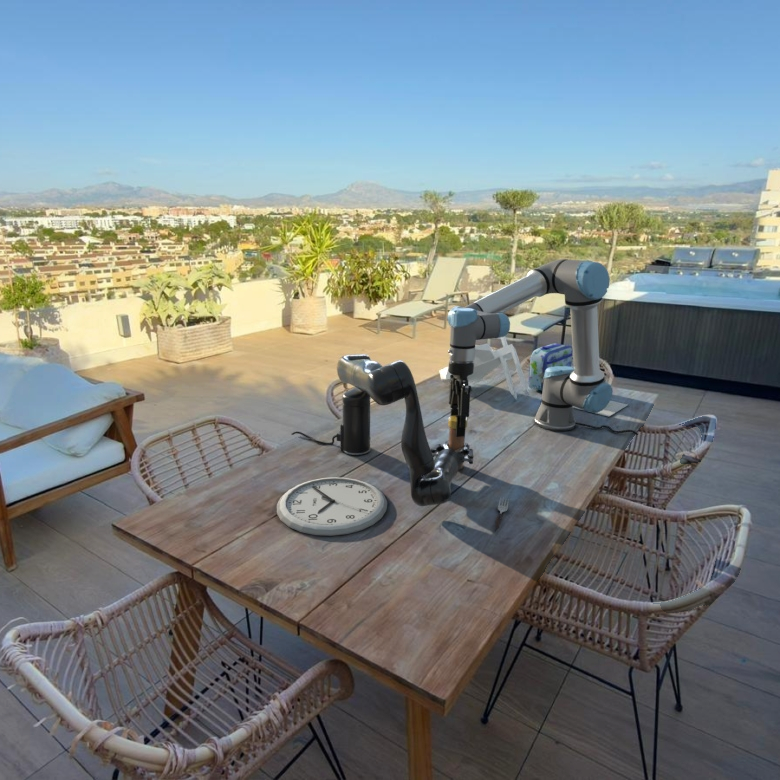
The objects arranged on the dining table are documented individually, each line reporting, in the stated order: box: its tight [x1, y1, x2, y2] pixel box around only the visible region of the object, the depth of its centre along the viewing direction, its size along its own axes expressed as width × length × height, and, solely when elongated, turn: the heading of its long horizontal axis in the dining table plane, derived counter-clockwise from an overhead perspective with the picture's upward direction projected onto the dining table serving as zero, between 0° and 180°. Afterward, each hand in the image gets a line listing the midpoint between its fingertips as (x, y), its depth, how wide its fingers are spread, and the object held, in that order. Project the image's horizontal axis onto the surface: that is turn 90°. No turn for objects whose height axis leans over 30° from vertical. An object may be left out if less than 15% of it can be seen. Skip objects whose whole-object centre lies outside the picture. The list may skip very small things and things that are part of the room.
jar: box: [448, 427, 466, 470], centre depth 165 cm, size 5×5×16 cm
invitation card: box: [573, 400, 629, 418], centre depth 226 cm, size 21×1×15 cm
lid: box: [447, 415, 468, 429], centre depth 163 cm, size 6×6×2 cm
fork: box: [494, 496, 510, 532], centre depth 138 cm, size 3×16×2 cm, turn 160°
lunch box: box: [528, 343, 573, 392], centre depth 249 cm, size 26×11×21 cm, turn 134°
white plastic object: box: [438, 336, 531, 400], centre depth 245 cm, size 37×45×31 cm
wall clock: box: [276, 476, 388, 537], centre depth 142 cm, size 30×2×30 cm
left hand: (458, 444), depth 168 cm, fingers closed on jar, 5 cm apart
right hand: (457, 432), depth 164 cm, fingers closed on lid, 6 cm apart
